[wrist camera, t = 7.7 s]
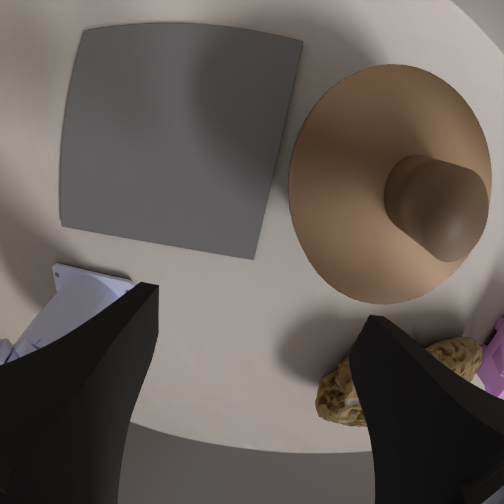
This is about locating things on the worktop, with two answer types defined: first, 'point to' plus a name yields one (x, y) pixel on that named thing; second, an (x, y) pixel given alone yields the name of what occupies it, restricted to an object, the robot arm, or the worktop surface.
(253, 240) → the mat
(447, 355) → the sponge
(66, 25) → the worktop surface
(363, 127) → the lid
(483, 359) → the teapot
